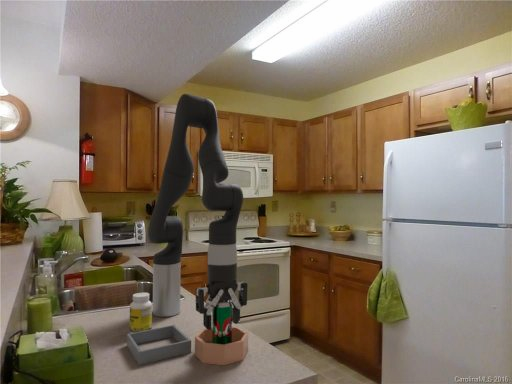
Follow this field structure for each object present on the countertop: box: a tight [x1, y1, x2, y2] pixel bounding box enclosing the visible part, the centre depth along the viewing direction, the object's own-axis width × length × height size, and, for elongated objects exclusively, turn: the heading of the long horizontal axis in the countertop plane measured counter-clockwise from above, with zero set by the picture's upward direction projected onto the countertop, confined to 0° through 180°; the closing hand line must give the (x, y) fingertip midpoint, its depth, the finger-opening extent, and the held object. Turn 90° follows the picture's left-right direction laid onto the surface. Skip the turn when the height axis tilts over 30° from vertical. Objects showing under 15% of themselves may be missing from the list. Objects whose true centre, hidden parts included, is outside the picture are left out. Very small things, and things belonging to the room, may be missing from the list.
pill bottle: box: [129, 292, 153, 334], centre depth 102 cm, size 6×6×11 cm
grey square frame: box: [126, 324, 192, 366], centre depth 91 cm, size 13×13×3 cm
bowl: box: [194, 326, 249, 366], centre depth 89 cm, size 13×13×4 cm
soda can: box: [211, 300, 233, 345], centre depth 89 cm, size 5×5×12 cm
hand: (222, 325), depth 89 cm, fingers open, 7 cm apart
